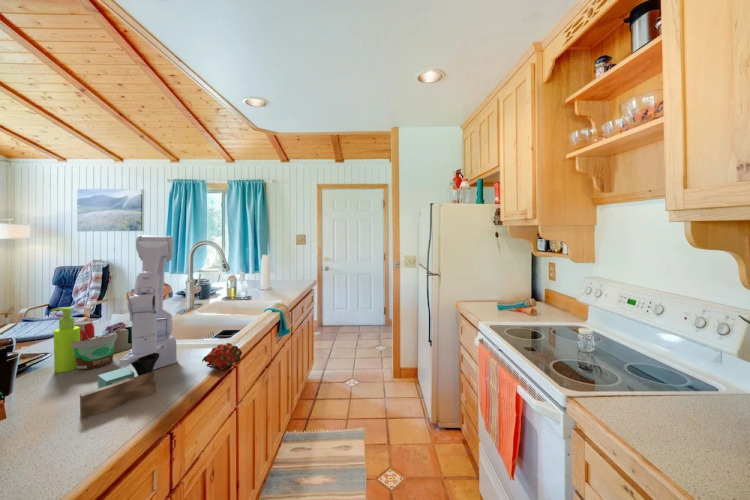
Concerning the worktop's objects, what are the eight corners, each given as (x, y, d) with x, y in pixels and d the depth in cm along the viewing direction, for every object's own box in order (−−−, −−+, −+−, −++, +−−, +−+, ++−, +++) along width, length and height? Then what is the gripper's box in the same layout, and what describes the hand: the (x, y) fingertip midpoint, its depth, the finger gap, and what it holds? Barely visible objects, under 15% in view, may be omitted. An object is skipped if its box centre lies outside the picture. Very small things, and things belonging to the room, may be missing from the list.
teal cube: (125, 387, 86) (125, 367, 85) (134, 394, 82) (134, 372, 82) (98, 396, 81) (98, 375, 80) (106, 404, 77) (106, 381, 77)
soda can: (97, 354, 108) (97, 322, 108) (70, 361, 102) (69, 326, 102) (91, 350, 112) (90, 318, 111) (64, 356, 106) (64, 323, 105)
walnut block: (152, 390, 84) (152, 371, 84) (155, 392, 83) (155, 372, 83) (80, 416, 72) (79, 394, 71) (82, 418, 71) (81, 396, 71)
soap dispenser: (63, 364, 99) (61, 305, 98) (85, 364, 100) (84, 305, 99) (45, 372, 93) (43, 309, 93) (69, 372, 94) (67, 309, 93)
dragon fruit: (245, 369, 102) (205, 380, 97) (242, 348, 108) (204, 358, 103) (242, 355, 97) (200, 367, 92) (239, 334, 103) (199, 344, 98)
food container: (86, 374, 93) (86, 343, 92) (71, 372, 94) (71, 341, 93) (127, 359, 105) (126, 331, 104) (113, 357, 106) (112, 329, 106)
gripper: (150, 326, 94) (151, 369, 94) (107, 342, 79) (108, 392, 80) (172, 327, 94) (172, 369, 94) (133, 343, 79) (134, 393, 80)
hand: (145, 380), depth 87 cm, fingers closed
